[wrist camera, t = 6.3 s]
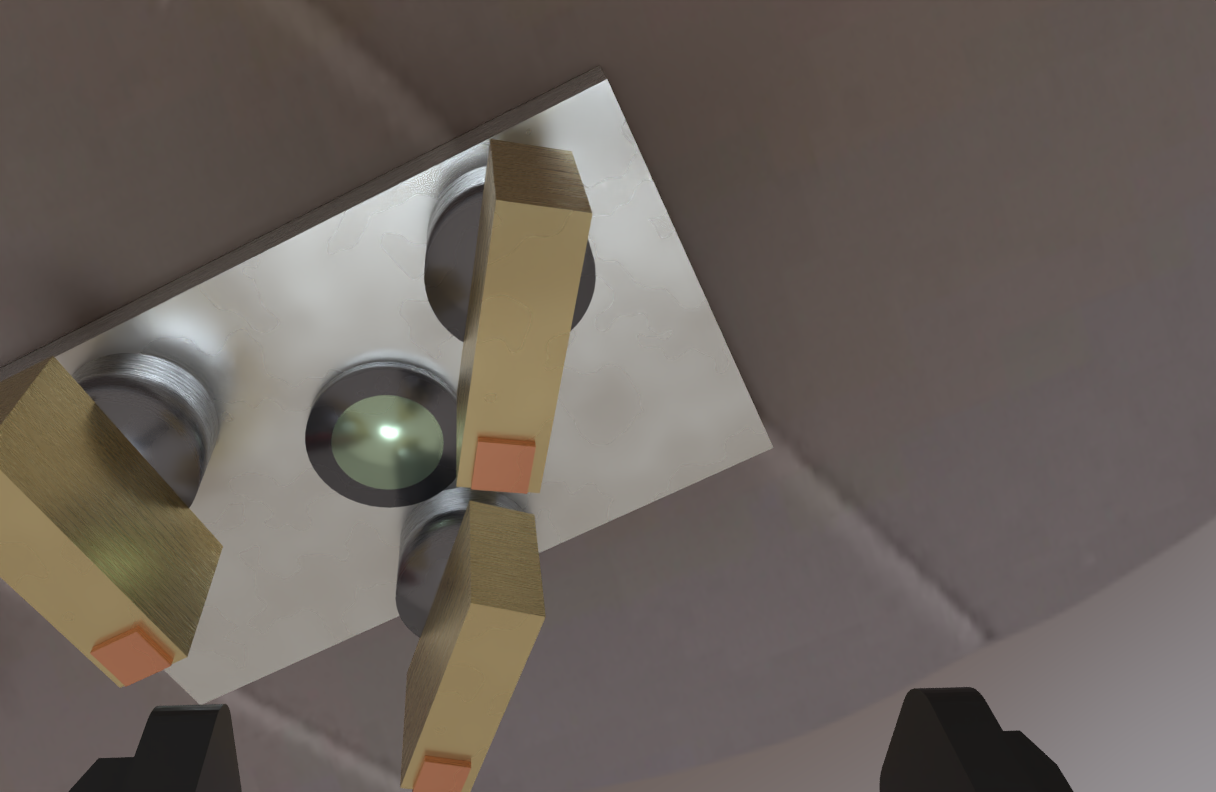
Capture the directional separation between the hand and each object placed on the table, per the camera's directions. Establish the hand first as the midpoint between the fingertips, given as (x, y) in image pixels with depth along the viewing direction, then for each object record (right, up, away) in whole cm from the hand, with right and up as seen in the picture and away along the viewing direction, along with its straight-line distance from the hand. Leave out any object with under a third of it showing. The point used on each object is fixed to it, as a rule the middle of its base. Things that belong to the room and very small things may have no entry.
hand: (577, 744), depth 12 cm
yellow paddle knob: (-4, 0, +18) cm, 19 cm away
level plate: (-6, +4, +17) cm, 19 cm away
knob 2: (-2, +8, +14) cm, 16 cm away
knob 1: (-12, +4, +15) cm, 19 cm away
